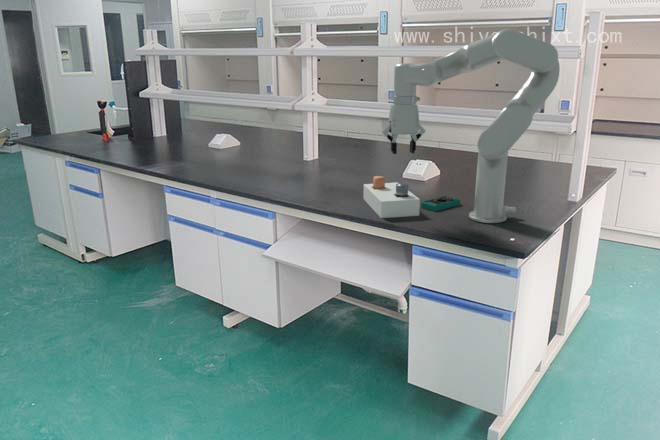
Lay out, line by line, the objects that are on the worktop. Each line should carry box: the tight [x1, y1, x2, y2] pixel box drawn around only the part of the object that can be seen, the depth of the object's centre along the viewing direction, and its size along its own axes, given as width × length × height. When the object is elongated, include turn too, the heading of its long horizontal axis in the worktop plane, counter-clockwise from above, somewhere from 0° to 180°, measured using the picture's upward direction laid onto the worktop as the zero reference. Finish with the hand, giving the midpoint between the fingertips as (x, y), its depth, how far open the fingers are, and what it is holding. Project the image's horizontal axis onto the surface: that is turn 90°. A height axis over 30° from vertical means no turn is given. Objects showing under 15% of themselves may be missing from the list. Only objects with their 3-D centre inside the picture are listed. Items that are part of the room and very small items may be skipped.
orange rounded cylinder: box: [372, 175, 386, 189], centre depth 202 cm, size 4×4×6 cm
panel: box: [363, 181, 421, 219], centre depth 197 cm, size 14×26×6 cm, turn 10°
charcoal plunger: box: [396, 182, 409, 197], centre depth 190 cm, size 4×4×6 cm
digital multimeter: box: [420, 195, 461, 212], centre depth 198 cm, size 7×15×3 cm, turn 127°
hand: (403, 152), depth 186 cm, fingers open, 5 cm apart
